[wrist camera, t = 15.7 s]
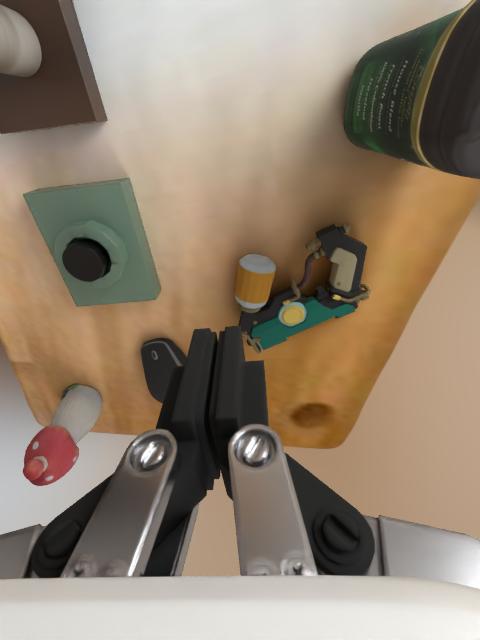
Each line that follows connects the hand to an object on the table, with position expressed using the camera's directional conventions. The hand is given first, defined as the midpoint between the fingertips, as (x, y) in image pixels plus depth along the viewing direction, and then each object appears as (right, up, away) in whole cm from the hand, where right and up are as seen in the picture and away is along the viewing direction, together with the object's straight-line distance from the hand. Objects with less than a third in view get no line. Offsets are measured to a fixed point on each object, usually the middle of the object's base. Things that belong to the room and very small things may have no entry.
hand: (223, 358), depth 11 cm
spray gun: (+8, +6, +27) cm, 28 cm away
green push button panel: (-15, +10, +24) cm, 30 cm away
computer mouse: (-10, -6, +35) cm, 37 cm away
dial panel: (-17, +24, +14) cm, 33 cm away
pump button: (-15, +8, +20) cm, 27 cm away
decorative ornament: (-25, -11, +39) cm, 48 cm away
